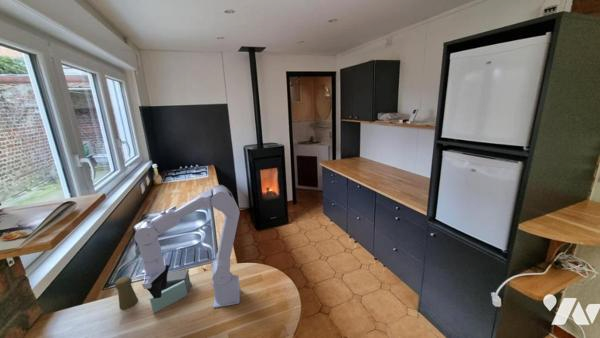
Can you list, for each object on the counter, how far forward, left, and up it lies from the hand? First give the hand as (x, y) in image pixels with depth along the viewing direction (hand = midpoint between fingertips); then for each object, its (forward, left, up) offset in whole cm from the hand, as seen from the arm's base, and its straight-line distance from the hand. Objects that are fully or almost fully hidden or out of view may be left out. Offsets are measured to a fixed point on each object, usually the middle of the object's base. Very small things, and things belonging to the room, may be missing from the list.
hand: (160, 292), depth 85 cm
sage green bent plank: (0, -6, -10) cm, 12 cm away
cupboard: (+2, -14, -10) cm, 17 cm away
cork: (+17, -11, -11) cm, 23 cm away
